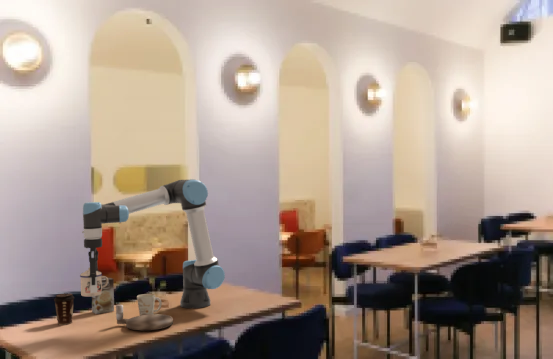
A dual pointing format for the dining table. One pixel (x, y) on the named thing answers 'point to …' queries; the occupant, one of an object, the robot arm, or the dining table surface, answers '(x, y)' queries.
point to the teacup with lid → (86, 283)
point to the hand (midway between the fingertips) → (94, 290)
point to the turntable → (143, 320)
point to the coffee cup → (64, 308)
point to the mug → (147, 304)
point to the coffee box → (104, 298)
